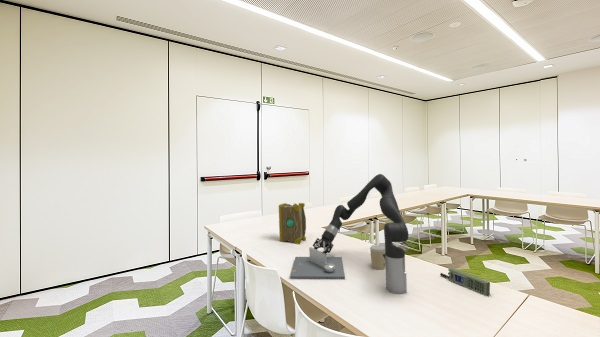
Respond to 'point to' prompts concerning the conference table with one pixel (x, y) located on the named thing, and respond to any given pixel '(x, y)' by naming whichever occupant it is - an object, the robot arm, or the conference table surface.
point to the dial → (321, 259)
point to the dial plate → (316, 269)
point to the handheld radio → (468, 281)
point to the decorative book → (292, 222)
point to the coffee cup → (378, 257)
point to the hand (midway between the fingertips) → (316, 255)
